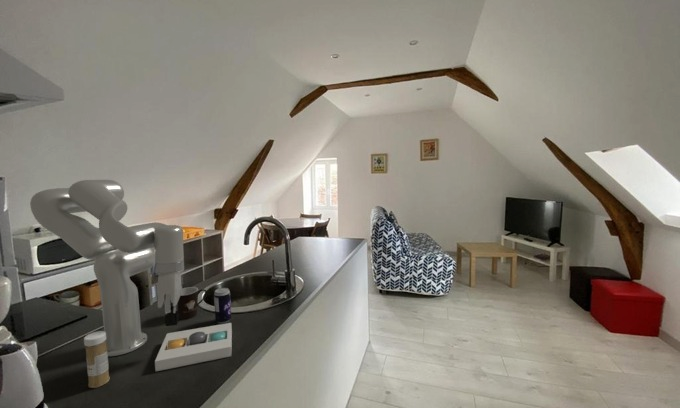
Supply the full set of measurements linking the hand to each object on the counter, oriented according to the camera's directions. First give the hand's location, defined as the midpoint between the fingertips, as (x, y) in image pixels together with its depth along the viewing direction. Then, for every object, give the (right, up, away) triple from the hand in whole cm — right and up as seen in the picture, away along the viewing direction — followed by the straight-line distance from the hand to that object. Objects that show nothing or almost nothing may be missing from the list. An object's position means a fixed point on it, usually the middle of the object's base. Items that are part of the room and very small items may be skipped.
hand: (171, 324), depth 92 cm
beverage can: (+8, -7, +21) cm, 23 cm away
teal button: (+12, -8, +4) cm, 15 cm away
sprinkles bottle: (-12, -11, -12) cm, 21 cm away
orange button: (+1, -8, +1) cm, 8 cm away
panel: (+7, -9, +3) cm, 11 cm away
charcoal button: (+7, -7, +2) cm, 10 cm away
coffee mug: (-7, -7, +26) cm, 28 cm away
